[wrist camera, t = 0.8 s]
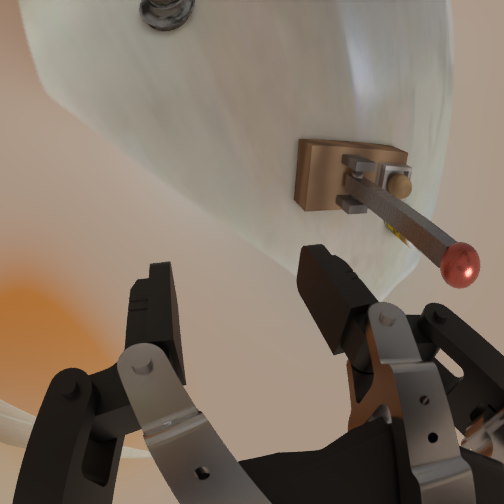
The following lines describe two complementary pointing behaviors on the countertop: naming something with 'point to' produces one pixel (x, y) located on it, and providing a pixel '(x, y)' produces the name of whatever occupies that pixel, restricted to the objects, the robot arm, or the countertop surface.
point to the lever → (418, 231)
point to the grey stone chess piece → (166, 13)
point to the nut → (400, 186)
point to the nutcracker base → (342, 172)
